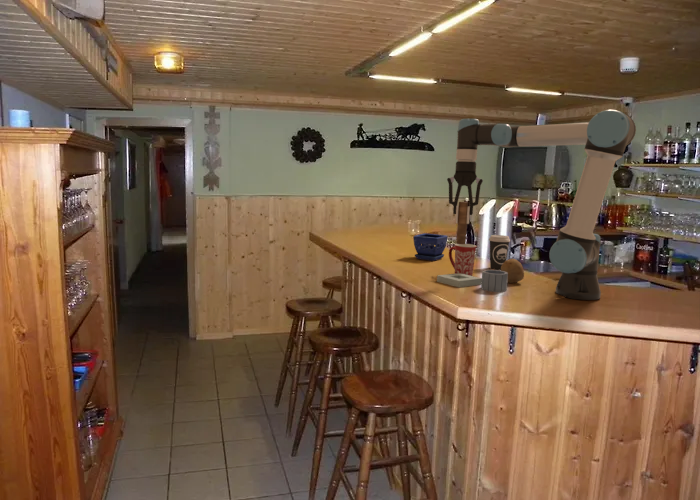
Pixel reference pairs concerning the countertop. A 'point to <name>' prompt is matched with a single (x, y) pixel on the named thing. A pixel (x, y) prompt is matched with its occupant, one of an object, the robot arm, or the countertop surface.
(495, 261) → the coffee cup
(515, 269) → the brown rounded lump
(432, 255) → the flower pot
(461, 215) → the brown wooden bar
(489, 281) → the cup
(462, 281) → the socket block
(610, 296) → the countertop surface
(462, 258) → the mug
